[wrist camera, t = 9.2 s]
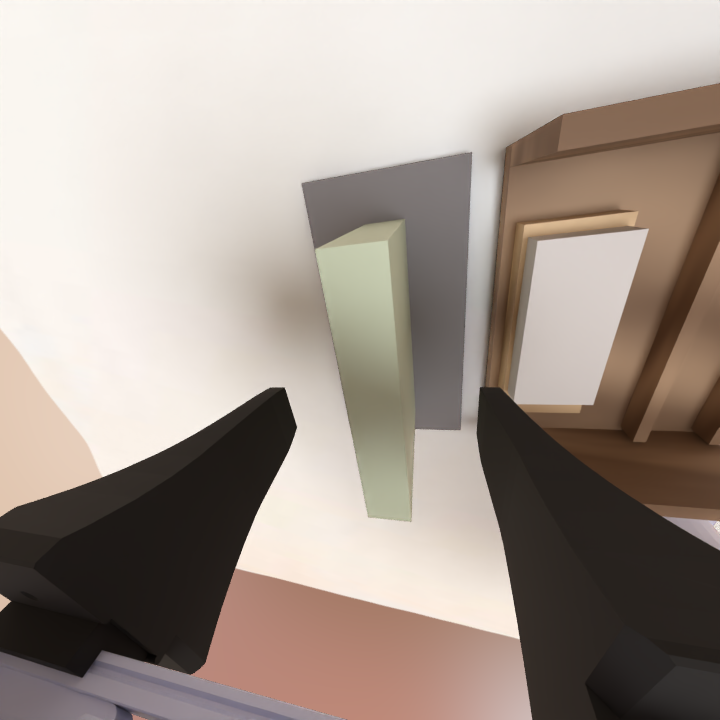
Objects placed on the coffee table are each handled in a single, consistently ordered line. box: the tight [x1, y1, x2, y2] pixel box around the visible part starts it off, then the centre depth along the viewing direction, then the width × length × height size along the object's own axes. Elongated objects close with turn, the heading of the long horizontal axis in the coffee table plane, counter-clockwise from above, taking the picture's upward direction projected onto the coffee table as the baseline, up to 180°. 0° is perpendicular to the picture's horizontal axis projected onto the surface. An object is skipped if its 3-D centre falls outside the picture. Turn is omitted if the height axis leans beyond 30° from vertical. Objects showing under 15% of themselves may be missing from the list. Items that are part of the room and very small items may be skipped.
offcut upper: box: [508, 226, 649, 405], centre depth 13 cm, size 8×4×1 cm, turn 8°
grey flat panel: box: [302, 152, 472, 430], centre depth 17 cm, size 16×8×1 cm, turn 8°
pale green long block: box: [315, 219, 415, 522], centre depth 14 cm, size 12×2×8 cm, turn 8°
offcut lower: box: [498, 210, 639, 413], centre depth 14 cm, size 10×4×1 cm, turn 8°
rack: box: [485, 83, 720, 521], centre depth 12 cm, size 16×13×6 cm
